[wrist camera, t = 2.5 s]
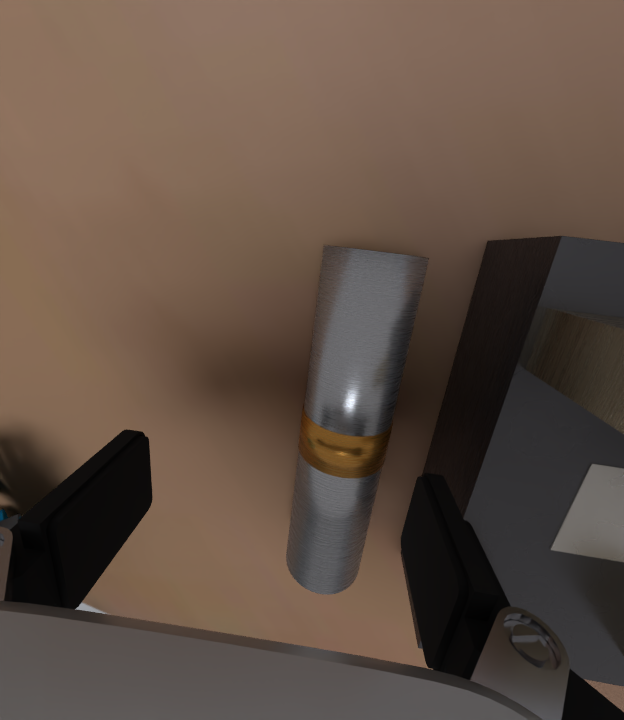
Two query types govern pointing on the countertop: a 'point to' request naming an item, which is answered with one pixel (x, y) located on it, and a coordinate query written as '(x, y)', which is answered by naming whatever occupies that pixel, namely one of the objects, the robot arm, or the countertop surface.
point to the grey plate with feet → (545, 438)
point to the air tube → (349, 408)
